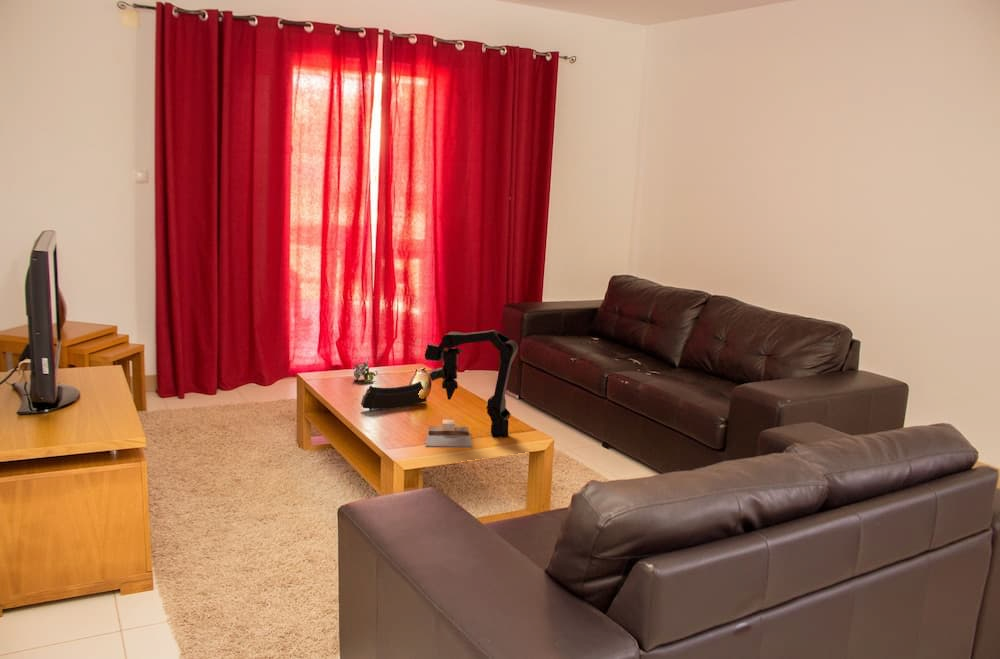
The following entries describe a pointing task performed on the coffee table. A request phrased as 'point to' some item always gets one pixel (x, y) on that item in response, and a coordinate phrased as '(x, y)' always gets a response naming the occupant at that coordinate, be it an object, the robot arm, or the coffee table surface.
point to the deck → (438, 431)
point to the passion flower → (363, 372)
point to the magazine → (392, 397)
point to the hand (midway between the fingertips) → (449, 399)
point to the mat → (448, 441)
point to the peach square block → (448, 425)
